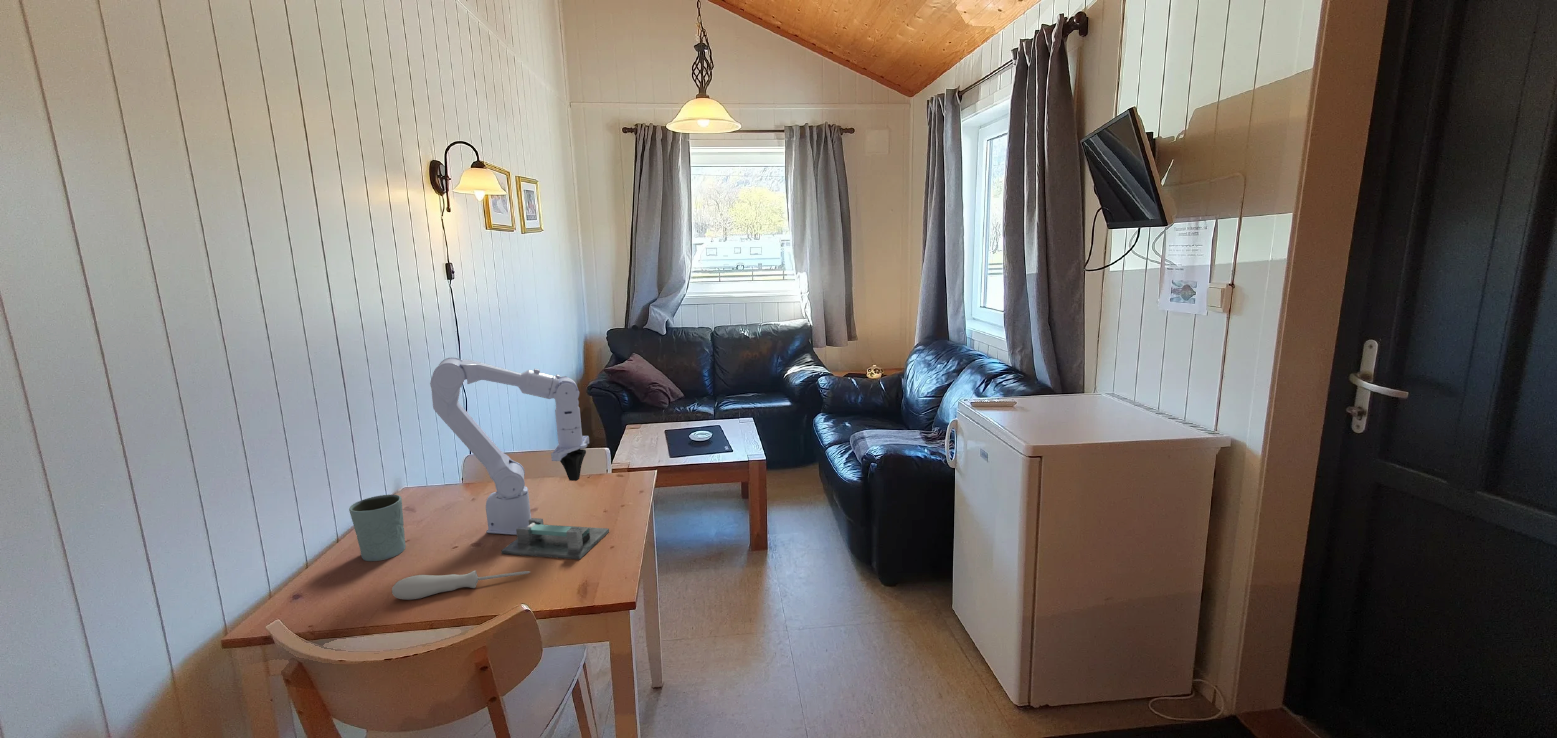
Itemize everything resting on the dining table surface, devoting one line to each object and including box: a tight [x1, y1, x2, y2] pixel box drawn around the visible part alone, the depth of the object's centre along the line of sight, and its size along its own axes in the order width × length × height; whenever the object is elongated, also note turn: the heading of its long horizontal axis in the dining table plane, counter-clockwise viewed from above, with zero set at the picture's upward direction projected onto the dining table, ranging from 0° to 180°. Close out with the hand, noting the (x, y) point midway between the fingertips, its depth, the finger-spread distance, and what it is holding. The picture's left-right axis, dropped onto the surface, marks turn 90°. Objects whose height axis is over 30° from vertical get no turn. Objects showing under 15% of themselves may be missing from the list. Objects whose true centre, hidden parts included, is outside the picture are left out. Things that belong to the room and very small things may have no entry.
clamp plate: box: [500, 517, 610, 560], centre depth 147 cm, size 19×14×6 cm
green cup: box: [348, 494, 407, 562], centre depth 144 cm, size 10×10×12 cm
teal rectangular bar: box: [527, 523, 589, 538], centre depth 147 cm, size 15×3×2 cm, turn 78°
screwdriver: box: [391, 570, 531, 601], centre depth 128 cm, size 5×25×4 cm, turn 109°
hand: (574, 479), depth 159 cm, fingers closed
